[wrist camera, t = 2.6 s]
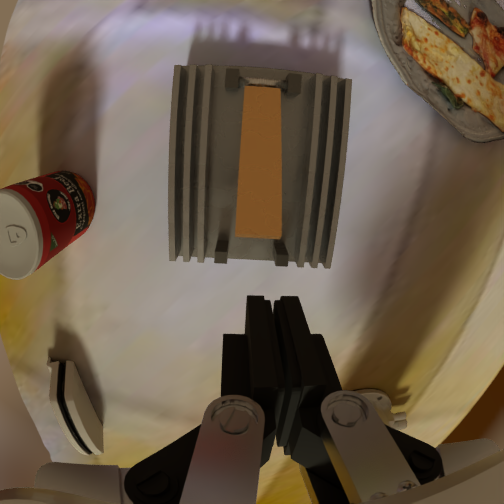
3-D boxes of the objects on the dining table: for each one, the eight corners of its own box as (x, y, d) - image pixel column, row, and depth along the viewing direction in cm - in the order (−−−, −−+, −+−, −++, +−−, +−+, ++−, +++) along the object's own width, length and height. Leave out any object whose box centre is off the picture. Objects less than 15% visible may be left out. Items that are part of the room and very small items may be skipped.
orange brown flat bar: (279, 94, 22) (280, 88, 21) (279, 239, 19) (281, 236, 19) (244, 91, 22) (244, 85, 21) (235, 236, 19) (235, 233, 18)
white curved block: (47, 355, 36) (37, 402, 27) (74, 353, 38) (69, 401, 29) (79, 423, 42) (80, 466, 33) (103, 421, 44) (106, 465, 35)
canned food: (108, 222, 29) (54, 263, 19) (57, 247, 30) (1, 291, 20) (80, 156, 27) (14, 171, 16) (31, 188, 27) (-33, 214, 17)
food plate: (531, 54, 21) (546, 53, 18) (492, 176, 28) (510, 181, 25) (400, -64, 17) (411, -76, 13) (333, 47, 24) (343, 38, 21)
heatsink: (334, 84, 25) (355, 73, 20) (317, 251, 31) (332, 275, 26) (185, 72, 24) (172, 58, 19) (179, 244, 30) (167, 268, 25)
